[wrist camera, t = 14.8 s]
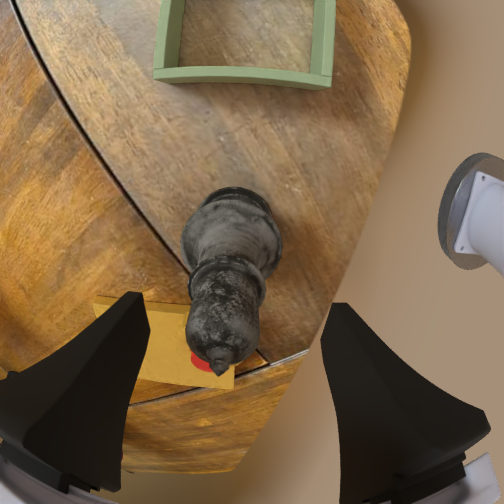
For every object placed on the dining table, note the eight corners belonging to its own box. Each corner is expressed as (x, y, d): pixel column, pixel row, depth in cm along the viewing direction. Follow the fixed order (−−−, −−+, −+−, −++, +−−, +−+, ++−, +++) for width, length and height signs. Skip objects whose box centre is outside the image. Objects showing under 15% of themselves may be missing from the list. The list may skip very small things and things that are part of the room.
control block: (250, 298, 22) (251, 325, 19) (243, 380, 28) (243, 403, 25) (93, 285, 21) (79, 307, 19) (123, 367, 27) (116, 387, 24)
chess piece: (285, 191, 17) (338, 323, 7) (266, 266, 20) (281, 418, 10) (196, 175, 17) (120, 291, 6) (187, 253, 20) (141, 399, 9)
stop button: (230, 333, 20) (229, 350, 19) (230, 357, 22) (229, 373, 20) (192, 330, 20) (188, 347, 19) (195, 354, 22) (192, 370, 20)
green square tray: (323, -24, 10) (336, -42, 7) (317, 91, 14) (331, 87, 12) (182, -31, 9) (171, -50, 7) (168, 84, 14) (152, 79, 11)
